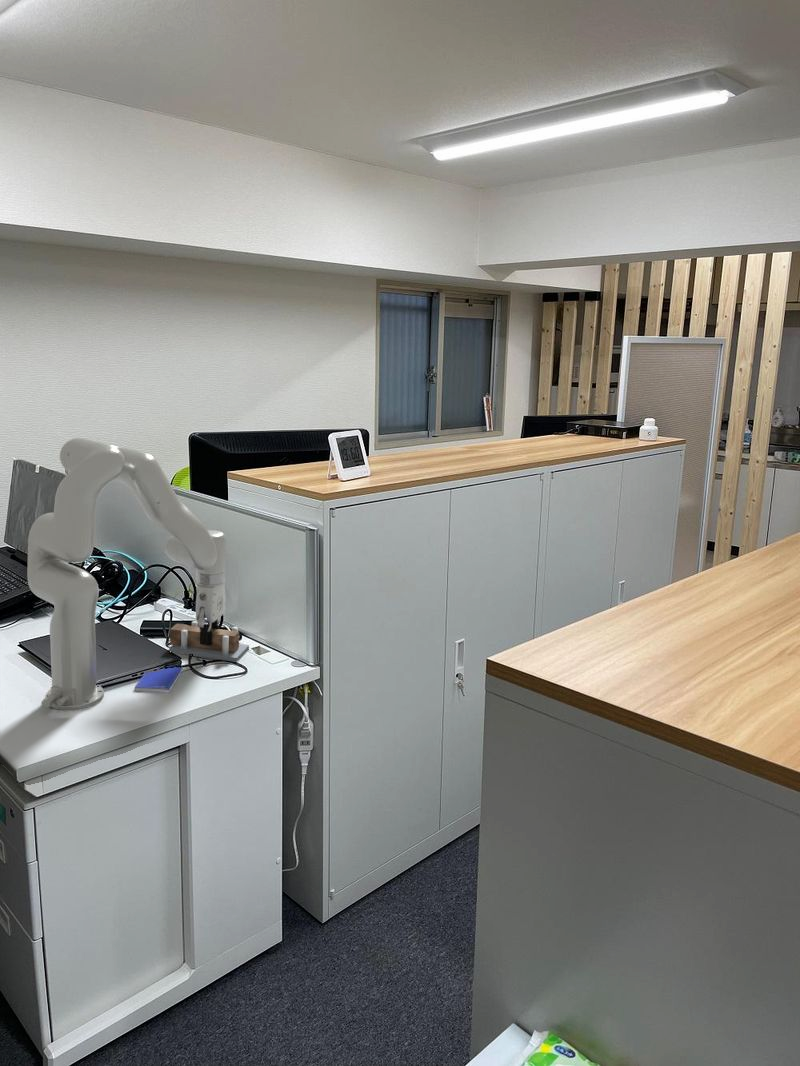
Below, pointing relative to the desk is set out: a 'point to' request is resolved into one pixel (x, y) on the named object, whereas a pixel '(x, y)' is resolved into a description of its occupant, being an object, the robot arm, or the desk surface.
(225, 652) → the peg rack
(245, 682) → the desk surface
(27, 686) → the desk surface
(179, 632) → the walnut brown wooden beam
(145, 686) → the hard drive
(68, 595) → the robot arm
